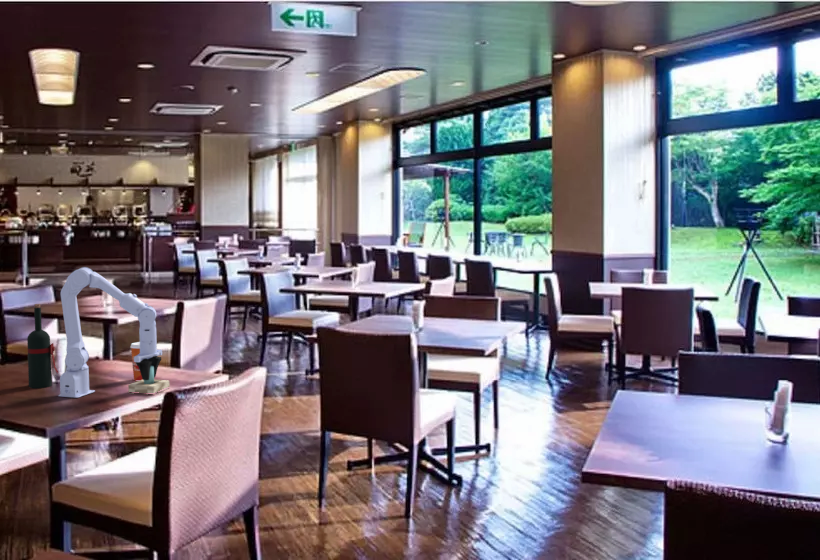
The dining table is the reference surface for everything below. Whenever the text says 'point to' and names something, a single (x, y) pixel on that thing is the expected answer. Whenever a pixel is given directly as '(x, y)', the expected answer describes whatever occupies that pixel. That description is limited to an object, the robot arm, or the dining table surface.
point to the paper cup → (136, 372)
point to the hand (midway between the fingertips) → (149, 378)
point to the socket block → (148, 386)
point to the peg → (150, 376)
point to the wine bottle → (39, 354)
